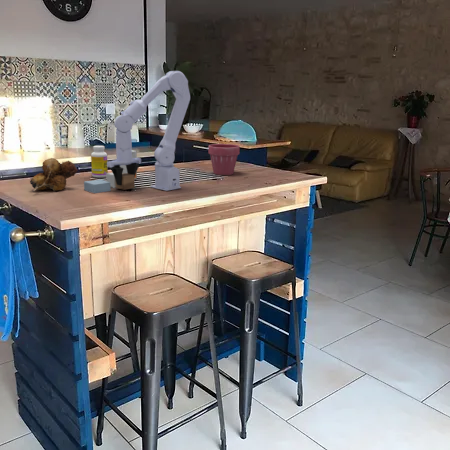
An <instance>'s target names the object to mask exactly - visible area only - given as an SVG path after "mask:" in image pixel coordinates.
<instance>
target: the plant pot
mask: <svg viewBox="0 0 450 450" xmlns="http://www.w3.org/2000/svg"><path fill="white" fill-rule="evenodd" d="M240 149H241V148H240V145H239V144H234V143H233V144H231V143H214V144H209V145H208V150H207V151H208V154H209V155H210V161H211V165H212V172H213V174H214V175H219V176H231V175H234V173H235V167H236V163H237V161H238V155H240Z"/></svg>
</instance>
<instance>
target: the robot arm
mask: <svg viewBox="0 0 450 450" xmlns="http://www.w3.org/2000/svg"><path fill="white" fill-rule="evenodd" d="M166 91H171V92H172V94H173V96H174V98H175V102H174V104H173V106H172V110H171V114H170V116H169V119H168V122H167V126H166V127H165V131H164V135H163V138H162V139H161V141H160V142H159V145H158V146H157V148H156V149H155V150H154V153H153V154H154V155H153V156H154V158H155V160H156V162H155V163H154V178H155V179H154V181H155V182H154V184H153V185H150V187H149V188H153V189H157V190H161V191H162V190H163V191H166V192H168V191H171V190H172V191H173V190H178V189H181V188H182V186H180V185H181V184H180V178H181V177H180V176H181V175H180V172H181V171H180V169H179V168H178V167H175V164H174V161H175V152H176V142H177V140H178V136H179V134H180V131H181V127H182V125H183V122H184V118H185V116H186V113H187V109H188V107H189V104H190V101H191V92H190V88H189V80H188V78H187V76H186V75H185V74H184V73H183V72H182V71H180V70H170V71H168V72H166V73H165V74H164V75H163V76H162V77H160V78H159V79H158V80H157V81H156V82H155V83H154V84H153V85H152V86H151V88H149V90H148V91H147V92H146V93H145V94H144V95H143V96H142V97H141V98H140V99H134V100H131V101H130V102H129V105H128V106H127V107H126V109H124V111H123V110H122V111H121V112H120V114H121V115H118V116H116V117H115V120H114V123H113V125H114V127H115V148H116V149H115V150H116V158H115V159H113V160H110V161H108V160H107V167H108V168H109V169H110V171H111V173H113V174H114V177H115V180H116V183H117V185H122V172H123V168H121V167H120V166H122V165H126V168H127V172H128V174H132V175H134V177H135V174H136V171H138V169H139V168H140V165H139V164H142V158H140V157H137V158H132V150H133V148H132V145H133V144H132V131H131V130H132V128H133V124H136V123H137V122H138V121H139V119H141V118H142V117H143V116H144V114H146V113H147V107H148V105H150V104H151V102H153V101H154V100H155V99H156V98H157V97H158V96H159V95H160V94H162V92H166ZM123 163H124V164H123Z"/></svg>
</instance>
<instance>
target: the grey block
mask: <svg viewBox="0 0 450 450" xmlns="http://www.w3.org/2000/svg"><path fill="white" fill-rule="evenodd" d="M122 174H123V173H122ZM105 178H106V179H105V181H107V182H110V184H111V188H114V189H117V188H116V180H115V177H114V174H113V172H108V173H106V177H105Z"/></svg>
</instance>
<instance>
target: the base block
mask: <svg viewBox="0 0 450 450" xmlns="http://www.w3.org/2000/svg"><path fill="white" fill-rule="evenodd" d="M83 188H84V189H83V190H84V191H85V192H88V193H92V194H99V193H105V192H111V188H112V187H111V184H110V182H107V181H106V180H104V179H95V180H94V179H93V180H87V181H86V180H85V181H83Z"/></svg>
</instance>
